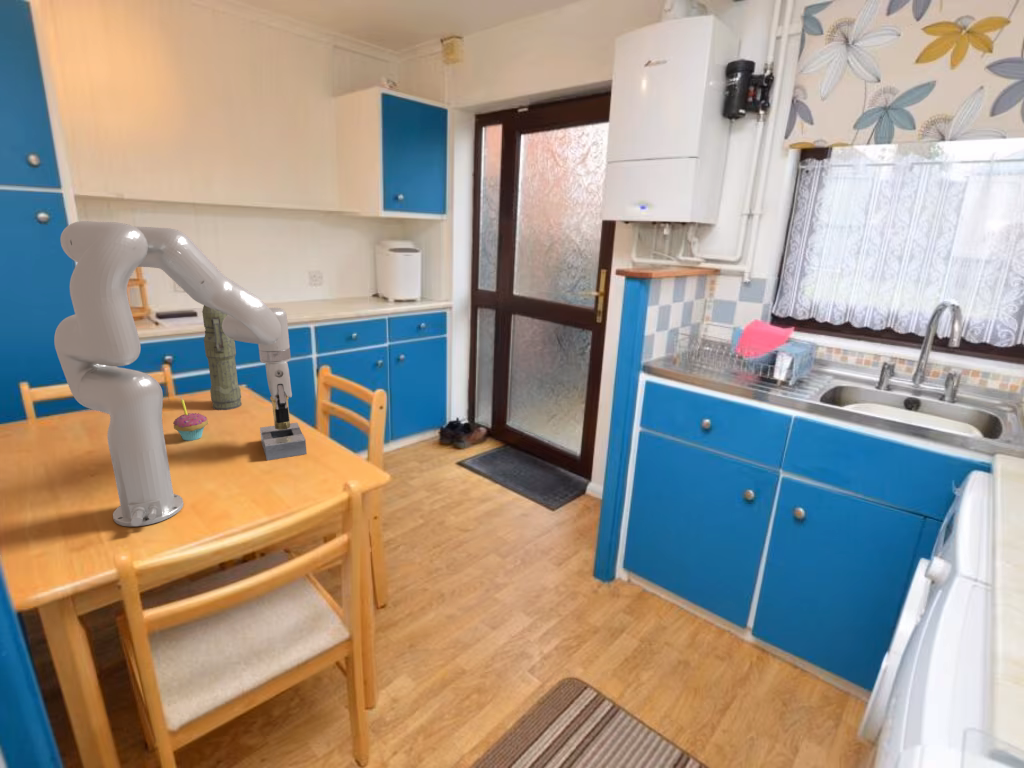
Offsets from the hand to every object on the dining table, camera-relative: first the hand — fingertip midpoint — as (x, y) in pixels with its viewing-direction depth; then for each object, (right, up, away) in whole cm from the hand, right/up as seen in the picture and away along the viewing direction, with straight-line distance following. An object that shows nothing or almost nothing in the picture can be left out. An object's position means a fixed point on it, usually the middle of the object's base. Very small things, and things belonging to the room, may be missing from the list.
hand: (281, 418), depth 148 cm
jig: (0, -8, +2) cm, 9 cm away
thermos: (-33, +2, +33) cm, 46 cm away
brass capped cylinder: (0, -2, +1) cm, 2 cm away
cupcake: (-28, -6, +7) cm, 30 cm away
